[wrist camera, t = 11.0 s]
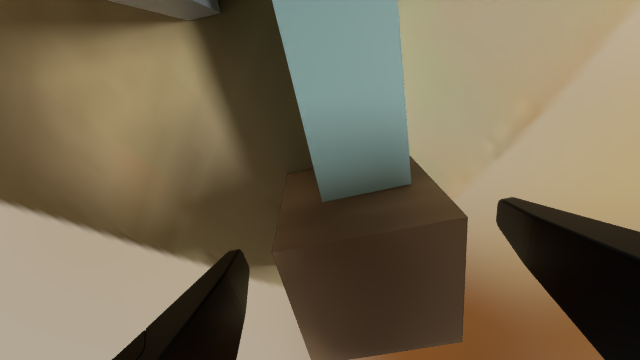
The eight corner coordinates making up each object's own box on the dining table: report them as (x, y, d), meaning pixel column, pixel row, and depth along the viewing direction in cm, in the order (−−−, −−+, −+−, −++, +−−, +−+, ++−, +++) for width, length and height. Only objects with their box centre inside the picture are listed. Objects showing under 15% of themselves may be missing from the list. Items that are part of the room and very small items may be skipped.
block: (404, 149, 10) (467, 216, 6) (410, 243, 12) (462, 342, 8) (287, 173, 10) (271, 253, 6) (312, 260, 12) (313, 364, 8)
